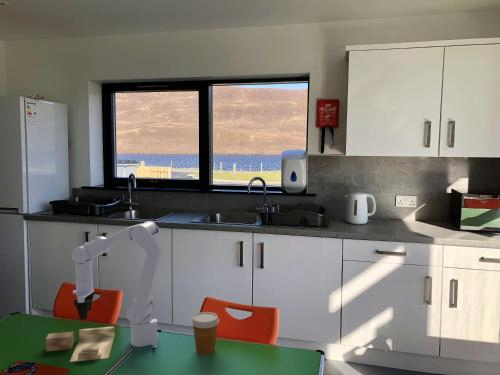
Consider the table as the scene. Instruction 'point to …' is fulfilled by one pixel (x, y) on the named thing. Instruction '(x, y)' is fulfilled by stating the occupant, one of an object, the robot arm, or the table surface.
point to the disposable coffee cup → (205, 331)
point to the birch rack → (95, 341)
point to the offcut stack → (89, 353)
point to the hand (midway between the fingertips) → (85, 314)
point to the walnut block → (59, 341)
